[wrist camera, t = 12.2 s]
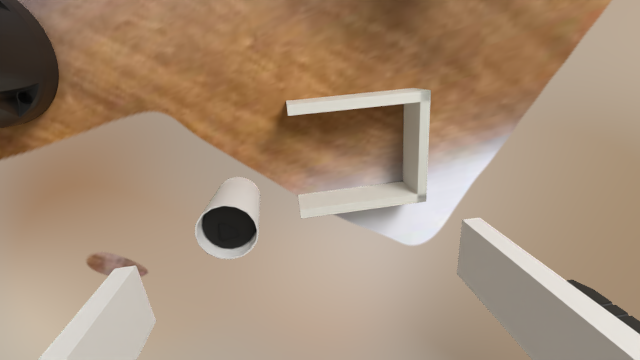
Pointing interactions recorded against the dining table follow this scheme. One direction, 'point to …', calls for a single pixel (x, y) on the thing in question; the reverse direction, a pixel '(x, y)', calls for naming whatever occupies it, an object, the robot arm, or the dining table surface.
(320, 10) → the dining table surface
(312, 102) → the u-shaped frame
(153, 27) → the dining table surface
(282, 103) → the dining table surface
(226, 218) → the white cup
